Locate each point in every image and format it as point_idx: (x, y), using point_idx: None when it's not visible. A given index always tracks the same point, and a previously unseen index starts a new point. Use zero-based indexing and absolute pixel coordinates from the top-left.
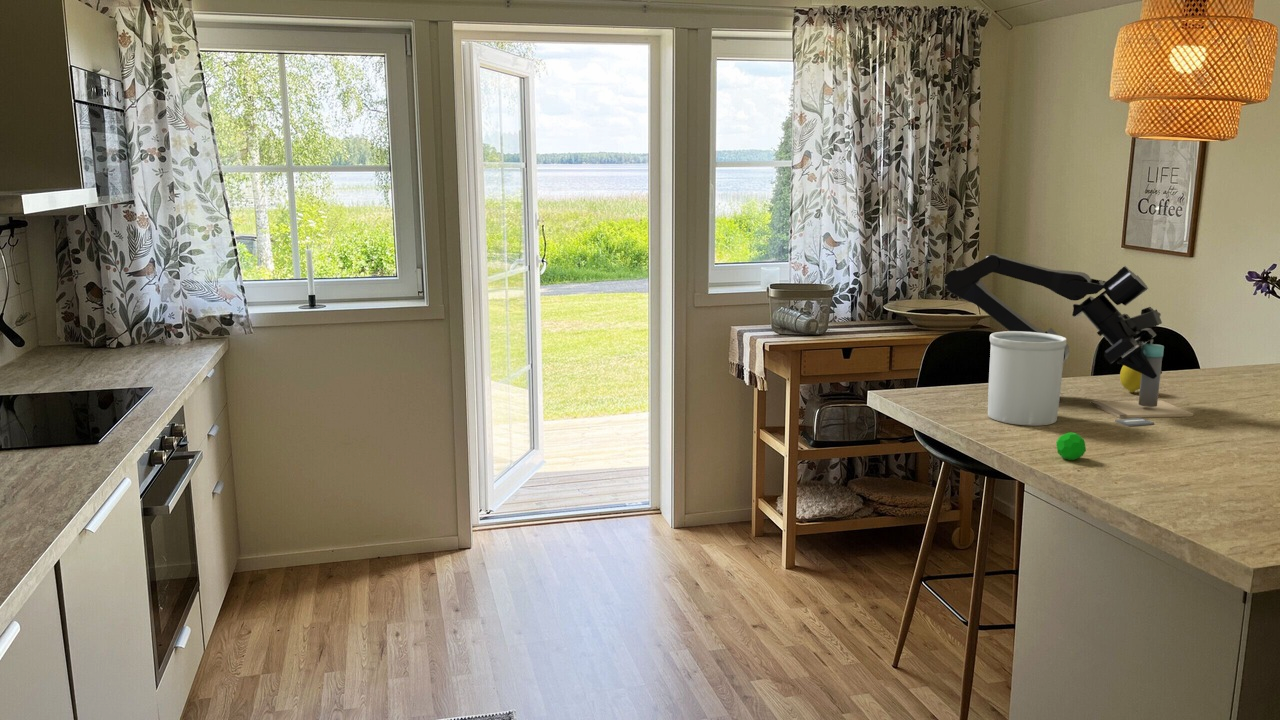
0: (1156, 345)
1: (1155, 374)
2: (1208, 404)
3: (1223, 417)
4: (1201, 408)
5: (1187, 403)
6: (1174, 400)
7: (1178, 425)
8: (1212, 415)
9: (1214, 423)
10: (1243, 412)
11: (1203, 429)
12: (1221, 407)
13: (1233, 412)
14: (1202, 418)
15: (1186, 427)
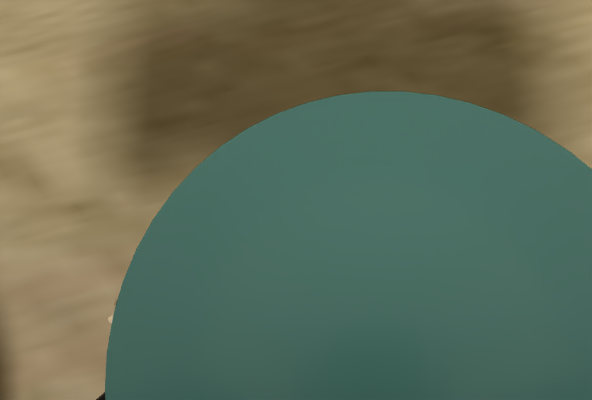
0: (322, 292)
1: None
2: (31, 139)
3: (245, 32)
4: (127, 140)
5: (58, 213)
6: (23, 278)
7: (543, 119)
8: (237, 71)
9: (382, 26)
10: (108, 6)
11: (531, 26)
12: (62, 86)
13: (129, 30)
14: (323, 84)
15: (553, 84)
